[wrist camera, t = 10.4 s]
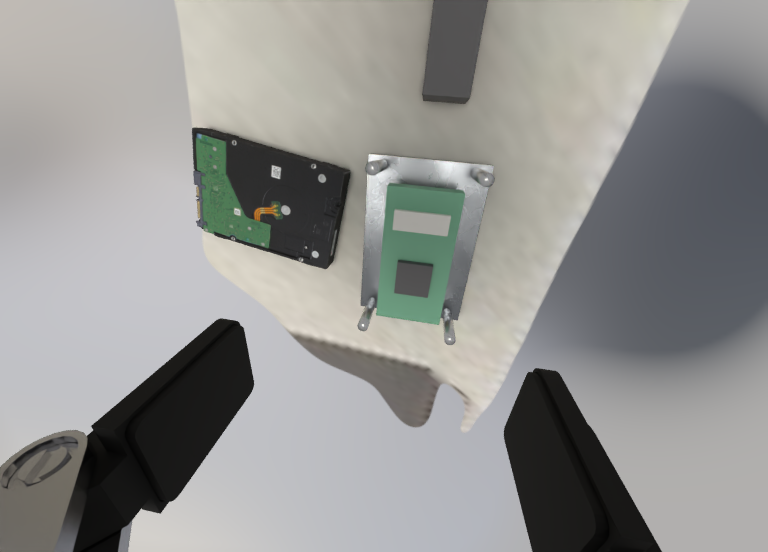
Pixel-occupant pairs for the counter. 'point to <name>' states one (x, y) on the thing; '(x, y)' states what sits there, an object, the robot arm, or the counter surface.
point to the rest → (453, 49)
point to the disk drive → (268, 197)
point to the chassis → (475, 188)
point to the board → (417, 250)
